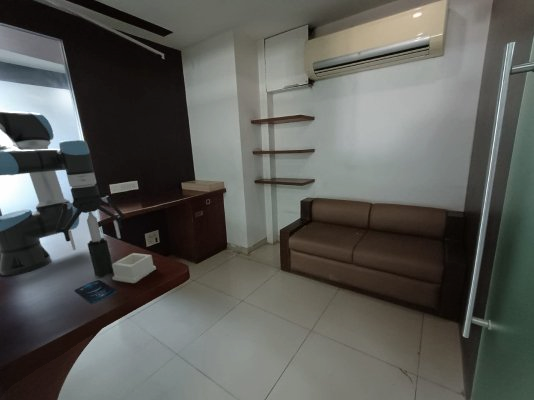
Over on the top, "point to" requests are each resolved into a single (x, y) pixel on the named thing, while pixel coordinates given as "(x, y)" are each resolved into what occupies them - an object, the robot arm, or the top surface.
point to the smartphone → (95, 291)
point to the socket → (133, 268)
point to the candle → (98, 249)
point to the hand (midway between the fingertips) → (97, 243)
